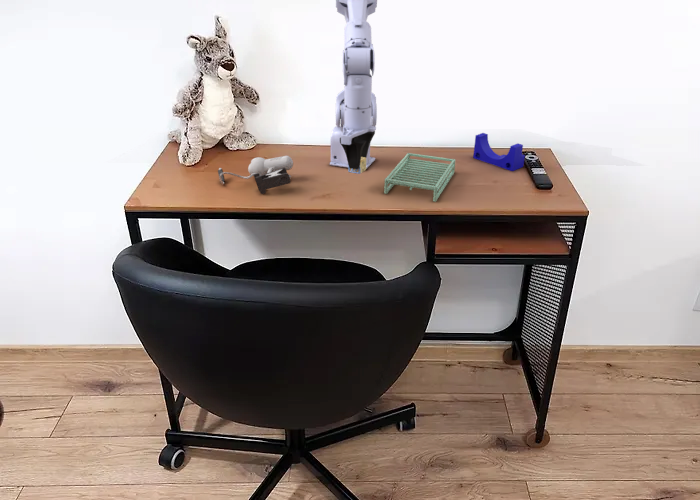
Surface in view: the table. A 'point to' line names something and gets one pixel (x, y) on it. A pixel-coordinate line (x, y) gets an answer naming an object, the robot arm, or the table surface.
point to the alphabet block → (361, 167)
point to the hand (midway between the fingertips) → (357, 165)
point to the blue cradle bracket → (508, 161)
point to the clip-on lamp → (266, 172)
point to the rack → (421, 174)
